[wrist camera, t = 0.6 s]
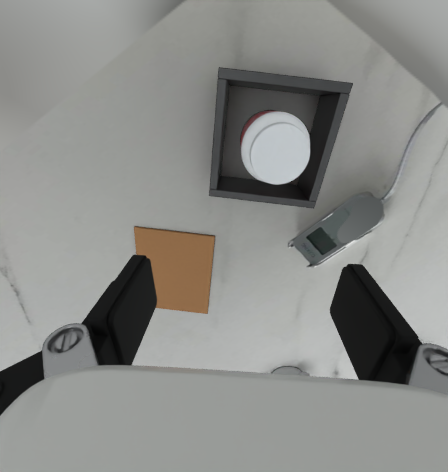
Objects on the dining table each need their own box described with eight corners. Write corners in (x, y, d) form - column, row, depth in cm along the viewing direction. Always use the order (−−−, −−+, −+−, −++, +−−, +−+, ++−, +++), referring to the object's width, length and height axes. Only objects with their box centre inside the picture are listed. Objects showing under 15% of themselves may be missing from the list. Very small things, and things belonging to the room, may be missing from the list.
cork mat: (134, 226, 35) (133, 227, 35) (214, 235, 35) (214, 237, 35) (142, 304, 43) (141, 306, 42) (207, 312, 43) (207, 313, 42)
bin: (222, 75, 25) (218, 67, 20) (329, 88, 25) (353, 83, 20) (214, 180, 31) (208, 196, 26) (301, 191, 31) (314, 208, 26)
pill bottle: (234, 157, 29) (231, 182, 20) (249, 103, 26) (254, 101, 17) (281, 171, 30) (301, 201, 20) (301, 119, 27) (335, 125, 17)
